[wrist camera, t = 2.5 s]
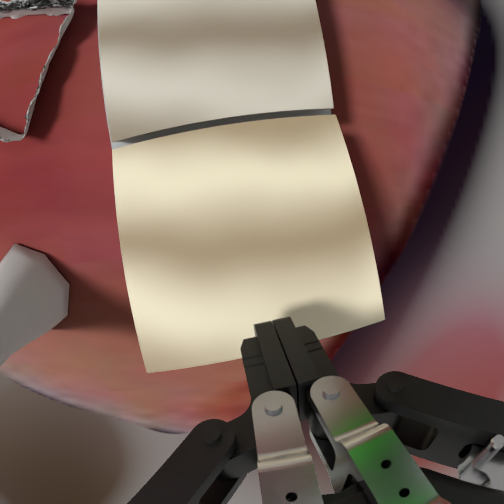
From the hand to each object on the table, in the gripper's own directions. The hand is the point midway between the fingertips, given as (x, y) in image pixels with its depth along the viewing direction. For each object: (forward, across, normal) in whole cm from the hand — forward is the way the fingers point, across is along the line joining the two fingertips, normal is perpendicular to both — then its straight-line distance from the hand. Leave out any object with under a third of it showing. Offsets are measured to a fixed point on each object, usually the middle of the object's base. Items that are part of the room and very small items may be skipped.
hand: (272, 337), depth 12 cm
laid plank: (+8, 0, -14) cm, 16 cm away
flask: (+9, +16, -1) cm, 19 cm away
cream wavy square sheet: (+5, 0, -3) cm, 5 cm away
